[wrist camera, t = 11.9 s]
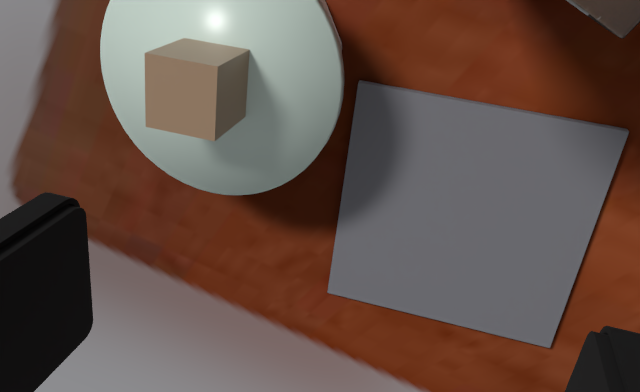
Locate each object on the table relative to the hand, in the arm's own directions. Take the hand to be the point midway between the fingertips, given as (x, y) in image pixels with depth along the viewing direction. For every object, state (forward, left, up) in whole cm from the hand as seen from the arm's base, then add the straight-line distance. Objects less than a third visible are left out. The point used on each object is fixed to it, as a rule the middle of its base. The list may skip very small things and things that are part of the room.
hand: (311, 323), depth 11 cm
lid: (+12, +3, -24) cm, 27 cm away
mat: (-4, +12, -30) cm, 33 cm away
